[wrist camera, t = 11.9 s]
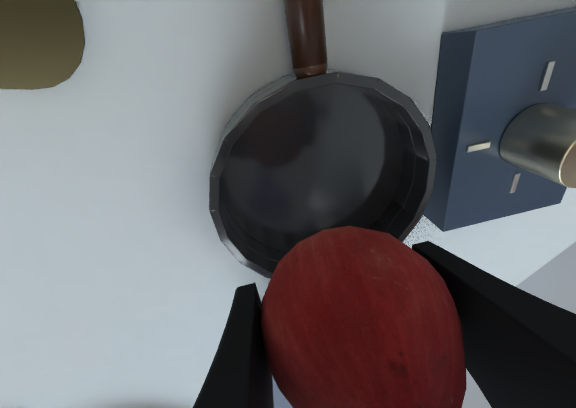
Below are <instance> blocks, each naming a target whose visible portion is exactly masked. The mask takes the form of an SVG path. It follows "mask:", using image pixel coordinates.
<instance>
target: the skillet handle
mask: <svg viewBox="0 0 576 408" xmlns="http://www.w3.org/2000/svg"><path fill="white" fill-rule="evenodd" d="M284 7H285V14H286V22H287V29H288V36H289V43H290V50H291V57H292V65H293V70H294V73H295V76H296V77H297V78H304V77H311V76H316V75H320V74H324V73H326V70H327V50H326V37H325V24H324V12H323V0H284Z"/></svg>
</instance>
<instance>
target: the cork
mask: <svg viewBox="0 0 576 408" xmlns="http://www.w3.org/2000/svg"><path fill="white" fill-rule="evenodd" d="M84 45H85V39H84V31H83V23H82V18H81V15H80V13H79V10H78V8H77V5H76V3H75V1H74V0H0V89H30V90H33V89H41V88H49V87H54V86H56V85H58V84H59V83H61V82H63V81H65V80H67V79H68V78H70V77H71V75H72V74H73V73H74V71H75V70H76V68H77V67H78V66H79V64H80V63H81V58H82V54H83V49H84Z"/></svg>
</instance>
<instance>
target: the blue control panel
mask: <svg viewBox="0 0 576 408" xmlns="http://www.w3.org/2000/svg"><path fill="white" fill-rule="evenodd" d="M542 103H547V104H553V105H559V106H565V107H571V108H576V7H572V8H567V9H561V10H556V11H551V12H546V13H541V14H536V15H531V16H526V17H521V18H516V19H511V20H506V21H501V22H496V23H491V24H486V25H481V26H476V27H471V28H466V29H461V30H456V31H451V32H446V33H443V34H442V39H441V48H440V57H439V66H438V75H437V84H436V93H435V102H434V111H433V120H432V129H431V132H432V137H433V142H434V146H435V151H436V156H437V165H436V173H435V180H434V188H433V192H432V194H431V197H430V199H429V201H428V203H427V206H426V208H425V210H424V212H423V215H424V216H425V217H427V218H428V219H429V220H430V221H431V222H432V223H433V224H435V225H436V226H437V227H438V228H439V229H440V230H441V231H443V232H444V231H449V230H453V229H457V228H461V227H465V226H469V225H473V224H477V223H481V222H485V221H489V220H493V219H497V218H502V217H506V216H510V215H514V214H518V213H522V212H526V211H530V210H534V209H538V208H542V207H546V206H551V205H555V204H559V203H561V200H562V198H563V195H564V193H565V191H566V188H567V187H565V186H563V185H560V184H558V183H555V182H553V181H551V180H548V179H546V178H543V177H541V176H538V175H536V174H534V173H531V172H529V171H526V170H524V169H521V168H519V167H517V166H514V165H512V164H509V163H507V162H506V161H504V159H503V158H502V156H501V154H500V143H501V139H502V136H503V134H504V132H505V130H506V128H507V127H508V125H509V124H510V123H511V122H512V121H513V119H514V118H515V117H516V116H517V115H519V114H520V113H521V112H522V111H524V110H525V109H527V108H529V107H531V106H533V105H537V104H542Z"/></svg>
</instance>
